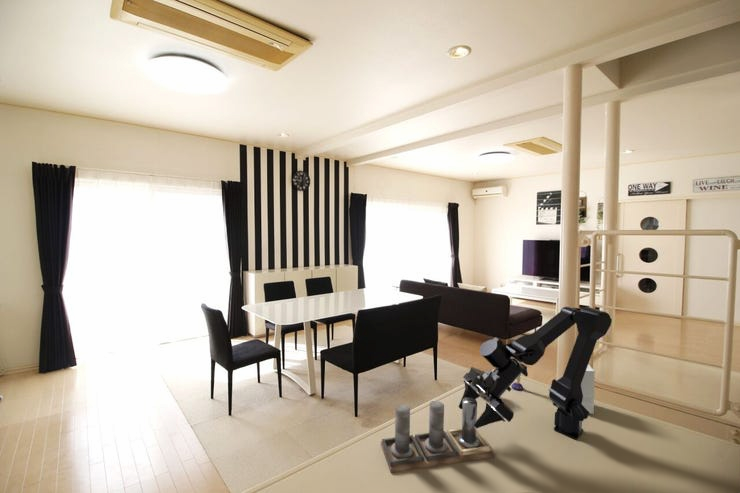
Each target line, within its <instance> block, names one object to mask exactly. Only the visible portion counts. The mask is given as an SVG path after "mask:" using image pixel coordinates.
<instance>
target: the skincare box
mask: <svg viewBox="0 0 740 493" xmlns="http://www.w3.org/2000/svg"><path fill="white" fill-rule="evenodd" d="M595 372H596V371H595V370H594V369H593V367H591V366H590V364H588V366H587V369H586V372H585V374H584V377H583V380H582V383H581V389H582V393H583V399H582V405H583V406H584V407H585V408H586V409H587V410H588V411H589V415H594V412H595V411H594V410H595V374H596V373H595Z"/></svg>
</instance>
